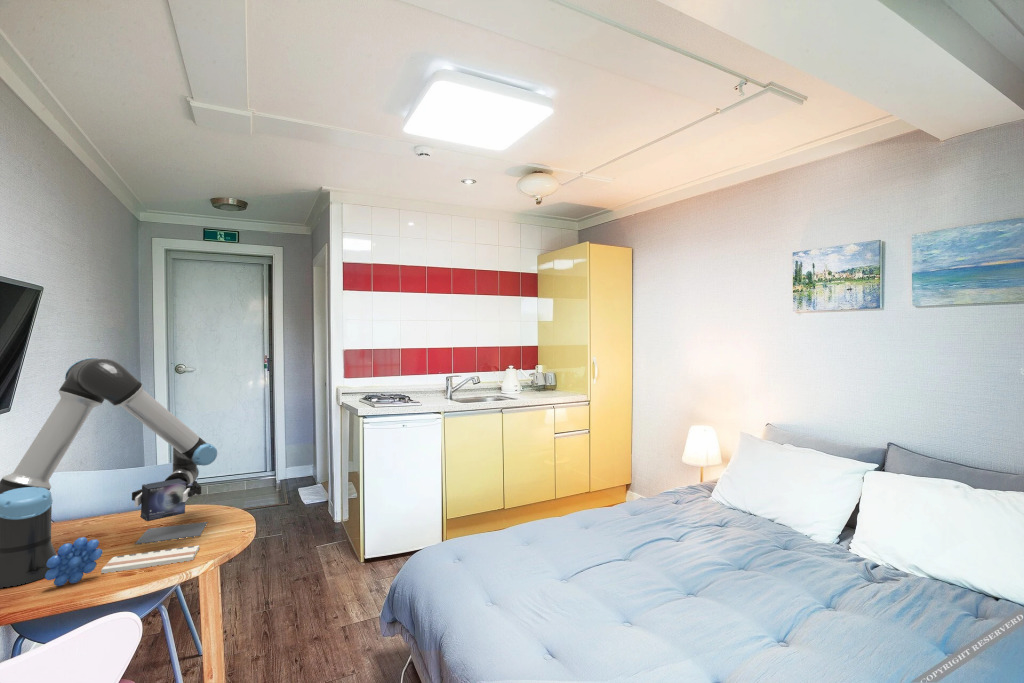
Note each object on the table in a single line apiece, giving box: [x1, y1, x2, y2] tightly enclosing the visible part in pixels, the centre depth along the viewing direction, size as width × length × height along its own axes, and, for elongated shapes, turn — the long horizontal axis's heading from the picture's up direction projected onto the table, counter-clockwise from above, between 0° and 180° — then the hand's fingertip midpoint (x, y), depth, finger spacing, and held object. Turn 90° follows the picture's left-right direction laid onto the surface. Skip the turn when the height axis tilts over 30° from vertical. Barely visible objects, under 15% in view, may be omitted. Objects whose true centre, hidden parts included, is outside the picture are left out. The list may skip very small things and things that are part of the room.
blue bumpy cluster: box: [44, 536, 104, 587], centre depth 132 cm, size 12×7×12 cm, turn 137°
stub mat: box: [134, 521, 209, 545], centre depth 167 cm, size 18×14×1 cm
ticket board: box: [100, 545, 200, 574], centre depth 145 cm, size 22×9×1 cm, turn 113°
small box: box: [140, 479, 186, 522], centre depth 155 cm, size 11×6×10 cm, turn 143°
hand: (160, 500), depth 152 cm, fingers closed on small box, 12 cm apart
